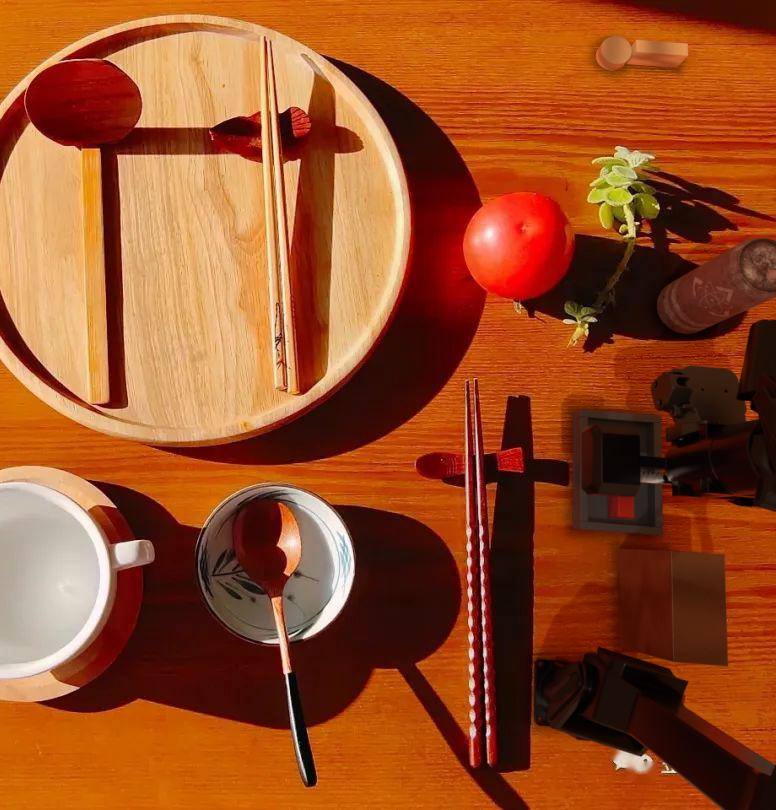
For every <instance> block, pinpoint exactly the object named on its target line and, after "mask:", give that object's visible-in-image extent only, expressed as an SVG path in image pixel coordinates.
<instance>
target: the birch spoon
mask: <svg viewBox="0 0 776 810" xmlns="http://www.w3.org/2000/svg"><path fill="white" fill-rule="evenodd" d="M688 56H689V43H687V42H686V43H685V42H673V41H661V40H660V41H658V40H647V39H636V40H635V41H634V42H633V43H632V45H631V44H630V42H629V41H628V40H627V39H626V38H624V37H622V36H618V35H612V36H608V37H607V38H606V39H604V40H603V41H602V43H601V44H600V45H599V46H598V48H597V50H596V53H595V60H596V62H597V64H598V65H599V66H600V67H601V68H603V70H606V71H611V72H615V71H618V70H620V69H622V68H623V67H624V66H625V65H633V66H634V65H635V66H648V67H659V68H660V67H661V68H674V69H677V68H678V67H679V66H680V65H681V64H683V62H684V61H685V60H686V59H687V58H688Z"/></svg>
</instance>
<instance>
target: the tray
mask: <svg viewBox="0 0 776 810" xmlns="http://www.w3.org/2000/svg"><path fill="white" fill-rule="evenodd" d="M595 424H603V425H616V426H629V427H635V429H636V430H637V432H638V434H639V435H640V456H651V457H663V453H662V452H663V450H662V447H663V446H662V443H663V442H662V416H661V415H658V414H656V415H655V414H644V413H630V412H618V411H607V410H606V411H605V410H594V409H578V410H575V411H573V412H572V450H571V451H572V467H571V468H572V469H571V471H572V472H571V473H572V477H571V478H572V481H571V482H572V486H571V487H572V488H571V490H572V491H571V492H572V493H571V494H572V495H571V496H572V499H571V500H572V503H571V504H572V505H571V507H572V513H571V514H572V516H571V518H572V519H571V521H572V523H571V524H572V525H571V527H572V530H578V531H592V532H593V531H594V532H605V533H617V534H630V535H631V534H632V535H642V536H664V506H663V505H664V504H663V501H664V500H663V499H664V498H663V496H664V495H663V494H664V493H663V484H653V483H640V487H639V490H638V492H637V494H636V496H635V497H634V518H625V519H620V518H608V514H607V496H598V495H587V494H586V492H585V491H584V490H583V489H582V488H581V432H582V431H584V430H585V429H586V428H587V427H589V426H592V425H595ZM640 471H643V473H644V472H645V471H647V473H648V472H652V473H653V472H656V474H657V473H658V472H660V473H663V471H660V470H647V469H640Z"/></svg>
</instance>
